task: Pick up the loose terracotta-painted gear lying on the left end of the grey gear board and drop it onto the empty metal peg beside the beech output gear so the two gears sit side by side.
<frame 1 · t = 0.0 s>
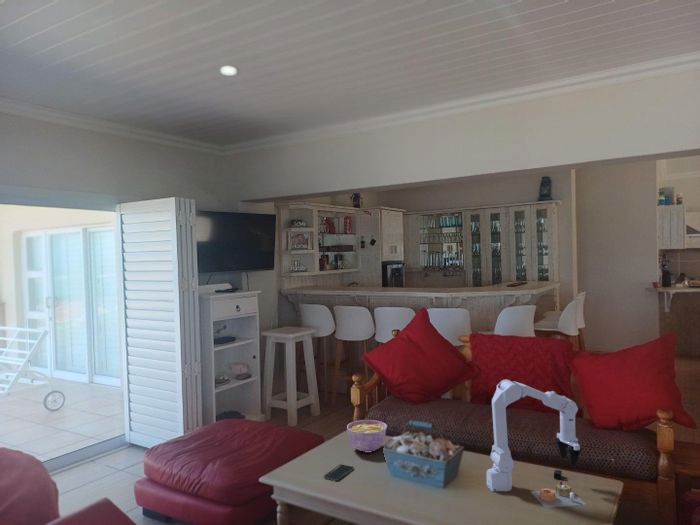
hand: (568, 461, 211), 10 cm above the table, fingers open, 7 cm apart
output gear: (563, 493, 201), resting on gear board
black piece: (558, 482, 216), on the table
gear board: (557, 501, 198), on the table
phone: (339, 474, 229), on the table
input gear: (547, 498, 198), point 1 cm above the table, touching gear board
bowl of food: (367, 449, 257), on the table
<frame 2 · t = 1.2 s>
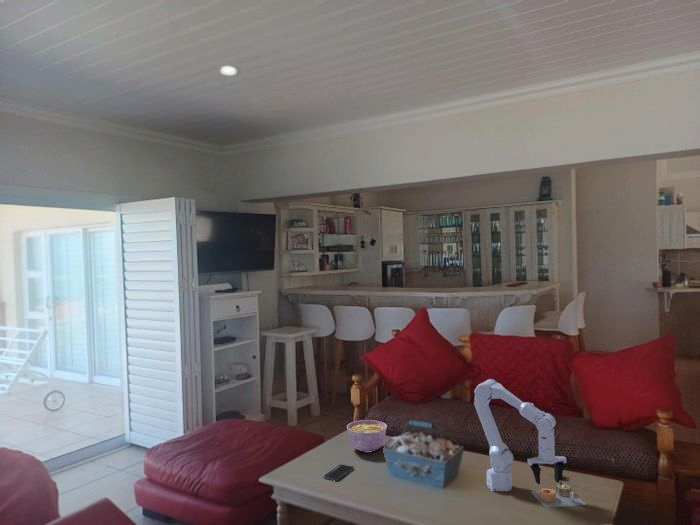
hand: (547, 482, 198), 8 cm above the table, fingers open, 7 cm apart
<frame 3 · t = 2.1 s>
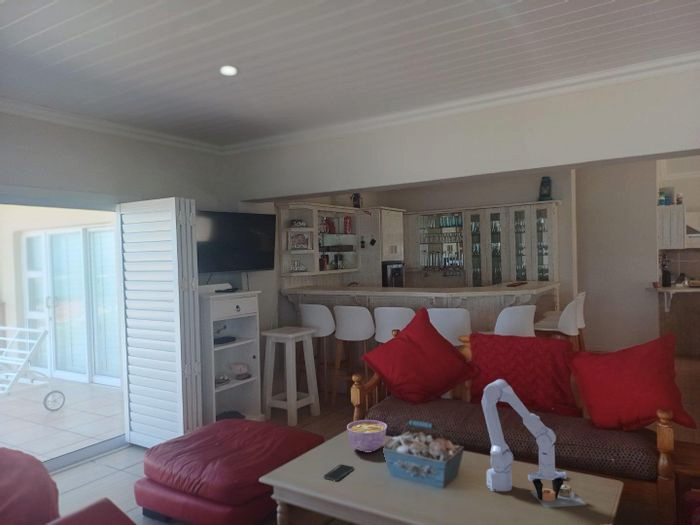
hand: (547, 497, 198), 2 cm above the table, fingers closed on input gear, 5 cm apart
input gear: (547, 498, 198), point 1 cm above the table, touching gear board, gripper
everything else where it was.
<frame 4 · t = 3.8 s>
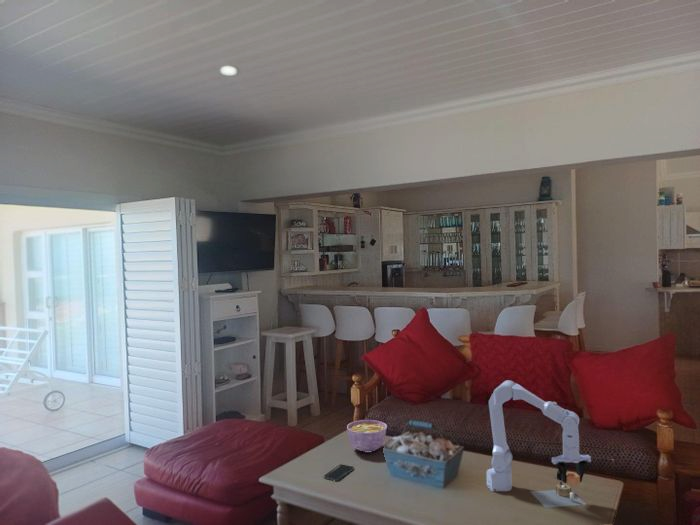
hand: (571, 481, 195), 9 cm above the table, fingers closed on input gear, 5 cm apart
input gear: (571, 482, 195), point 9 cm above the table, touching gripper
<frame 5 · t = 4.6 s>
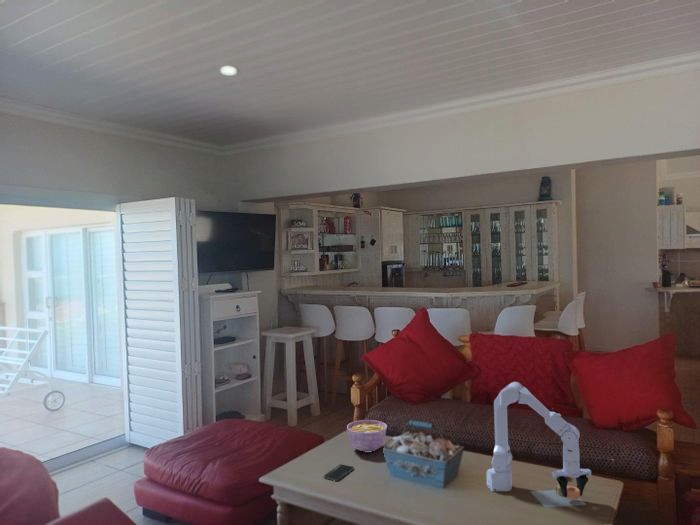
hand: (572, 495, 195), 4 cm above the table, fingers closed on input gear, 5 cm apart
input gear: (572, 496, 195), point 3 cm above the table, touching gripper
when the fingers open (3 cm above the table, at t = 5.3 s): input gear drops 1 cm, resting on gear board.
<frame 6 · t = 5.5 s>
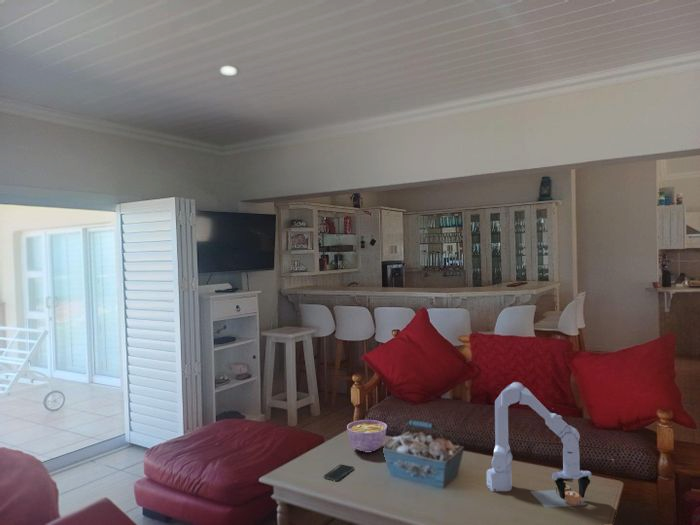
hand: (571, 497, 195), 3 cm above the table, fingers open, 7 cm apart
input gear: (572, 501, 195), point 1 cm above the table, touching gear board
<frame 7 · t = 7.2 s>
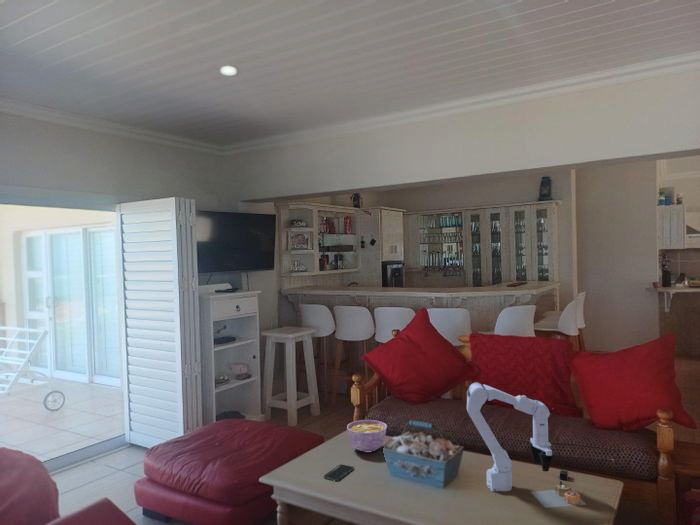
hand: (541, 466, 207), 10 cm above the table, fingers open, 7 cm apart
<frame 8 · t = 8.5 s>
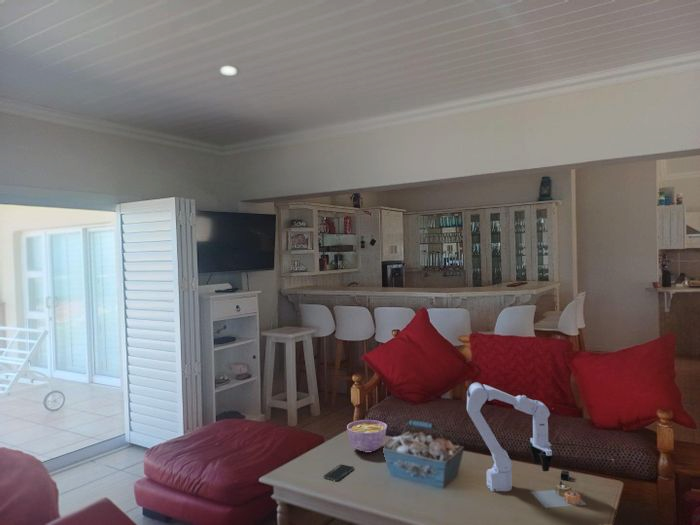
hand: (541, 466, 207), 10 cm above the table, fingers open, 7 cm apart
at the end: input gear 0.0 cm from the target spot on the gear board, point 1.5 cm above the gear board's base; the gripper is holding nothing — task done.
